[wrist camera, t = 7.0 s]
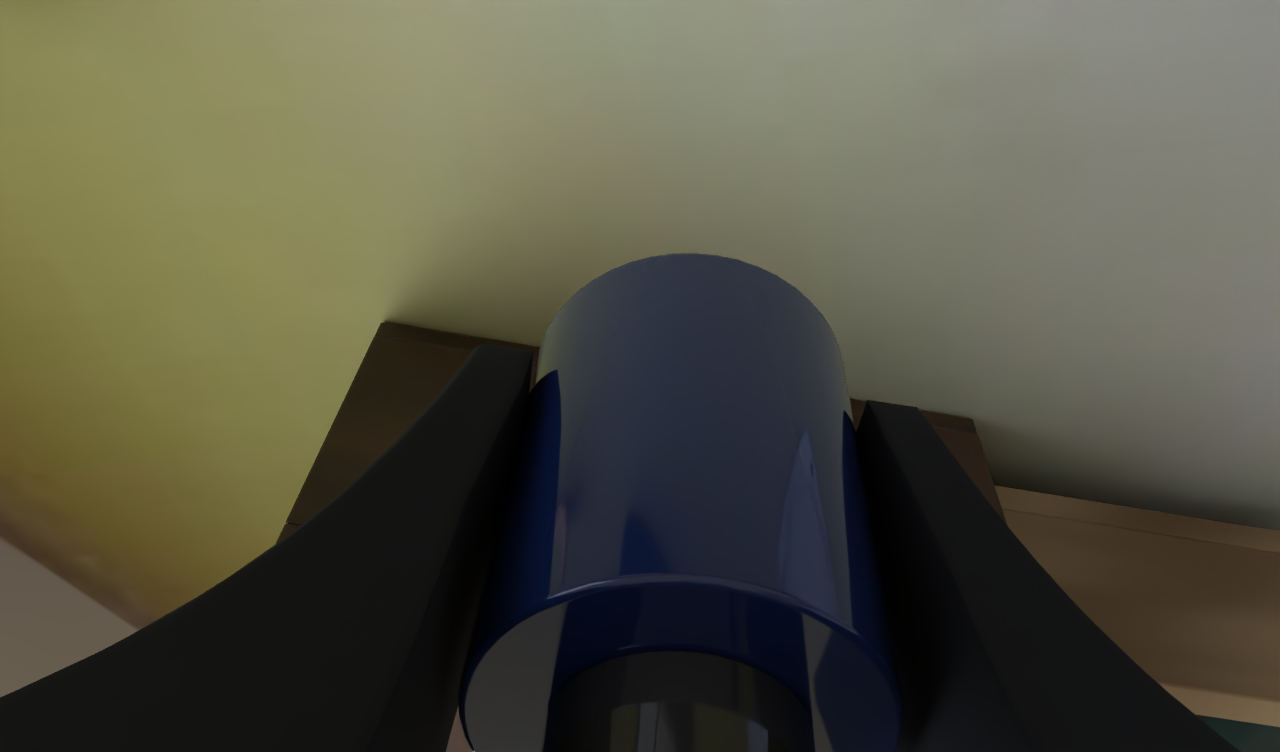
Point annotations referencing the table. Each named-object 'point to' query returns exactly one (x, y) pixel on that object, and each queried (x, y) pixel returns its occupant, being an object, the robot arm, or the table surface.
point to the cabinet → (417, 372)
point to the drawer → (1171, 600)
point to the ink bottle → (684, 533)
